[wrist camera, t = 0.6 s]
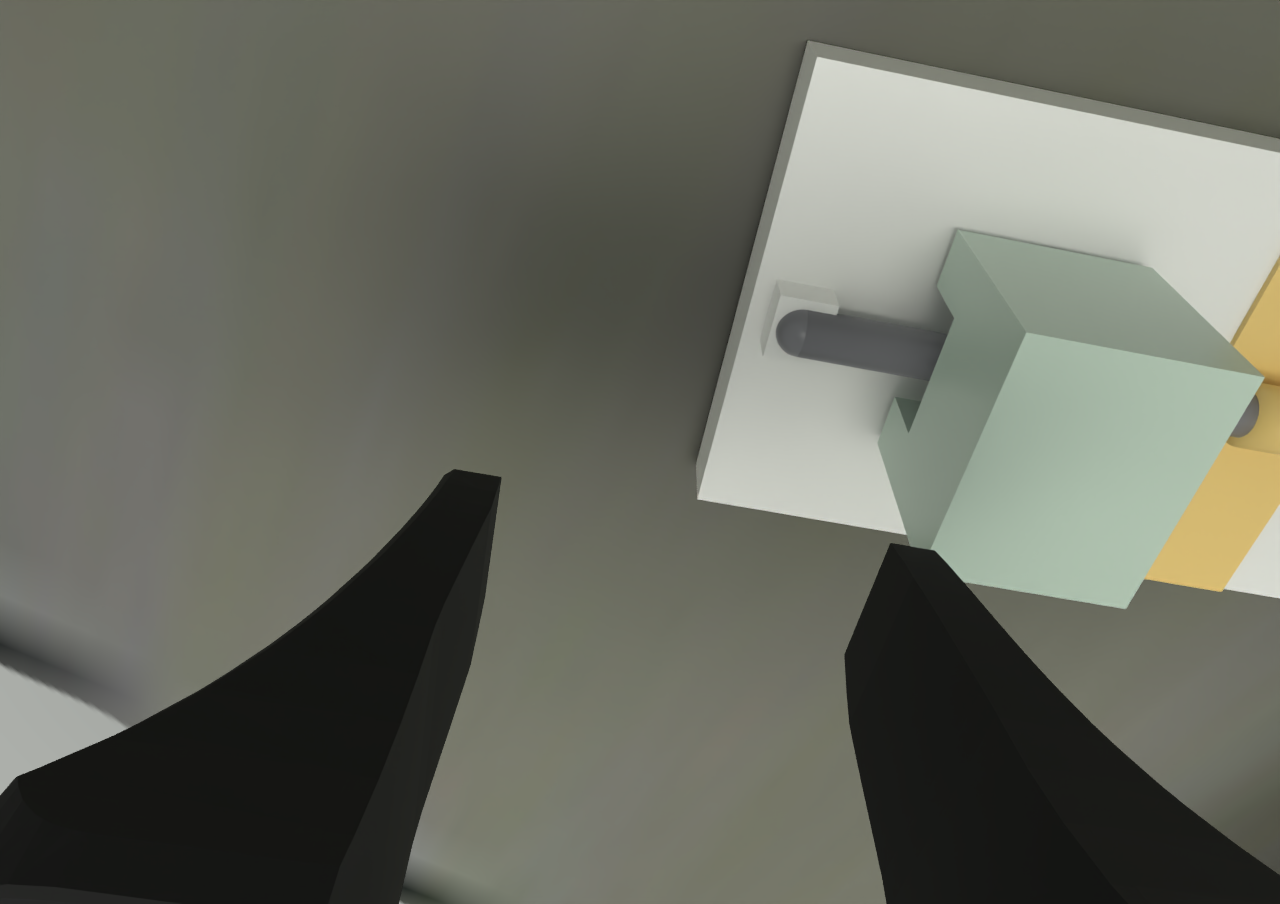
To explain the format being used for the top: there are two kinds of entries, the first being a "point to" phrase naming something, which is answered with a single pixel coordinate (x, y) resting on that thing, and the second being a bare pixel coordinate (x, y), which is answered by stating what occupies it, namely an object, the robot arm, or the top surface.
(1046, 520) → the pale green notched block
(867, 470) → the board
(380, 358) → the top surface
